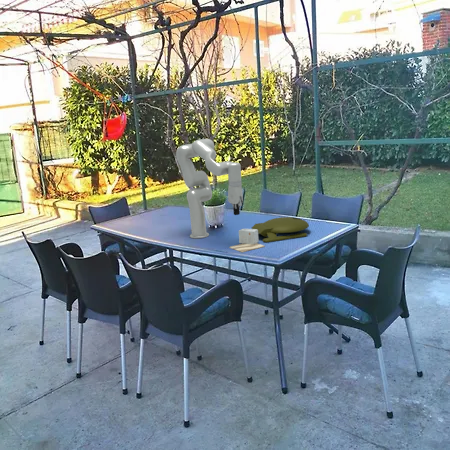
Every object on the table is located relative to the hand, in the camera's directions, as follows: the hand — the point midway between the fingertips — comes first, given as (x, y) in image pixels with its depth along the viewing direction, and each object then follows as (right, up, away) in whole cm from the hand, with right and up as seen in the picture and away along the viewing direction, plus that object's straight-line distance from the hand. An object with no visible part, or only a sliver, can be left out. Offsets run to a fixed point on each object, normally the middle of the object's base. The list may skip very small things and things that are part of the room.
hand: (236, 214), depth 281 cm
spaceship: (+29, -12, +21) cm, 38 cm away
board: (+6, -19, -3) cm, 20 cm away
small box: (+3, -13, +6) cm, 14 cm away
